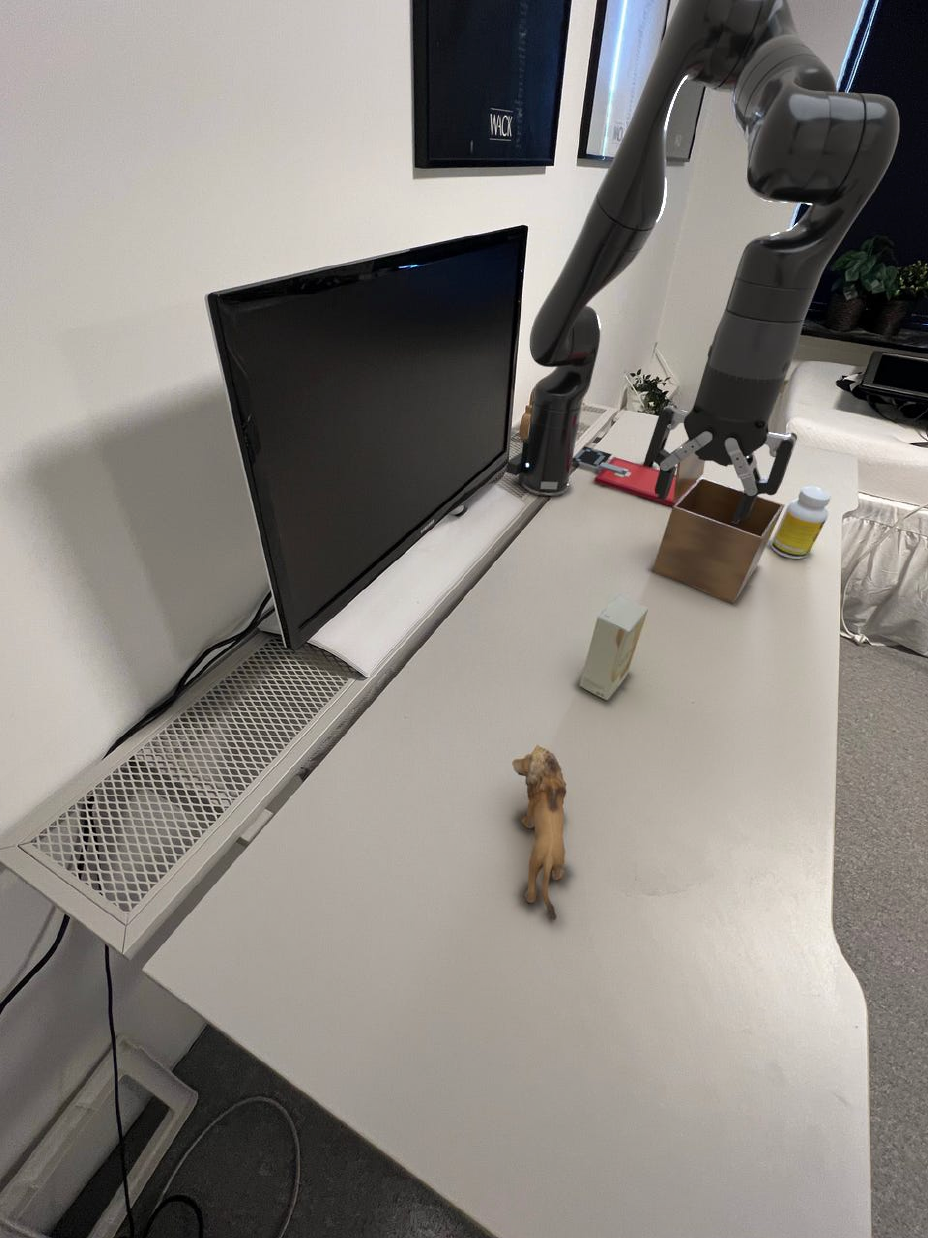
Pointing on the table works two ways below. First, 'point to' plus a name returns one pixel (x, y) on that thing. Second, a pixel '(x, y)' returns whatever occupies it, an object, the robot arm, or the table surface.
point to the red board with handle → (625, 474)
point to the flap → (687, 474)
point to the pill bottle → (801, 523)
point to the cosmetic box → (613, 646)
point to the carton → (715, 539)
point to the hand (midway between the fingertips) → (698, 508)
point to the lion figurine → (544, 819)
